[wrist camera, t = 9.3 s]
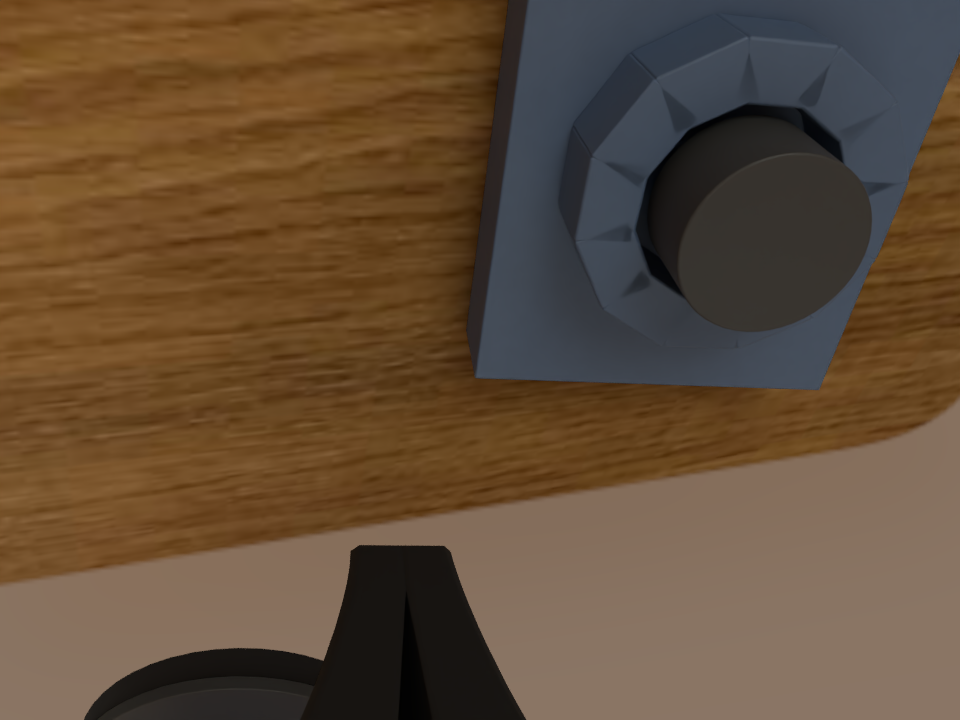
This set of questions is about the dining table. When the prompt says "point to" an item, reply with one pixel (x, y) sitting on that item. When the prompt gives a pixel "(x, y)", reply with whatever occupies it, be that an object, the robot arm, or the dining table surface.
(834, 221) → the button
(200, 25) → the dining table surface
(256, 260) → the dining table surface
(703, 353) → the block
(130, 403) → the dining table surface
